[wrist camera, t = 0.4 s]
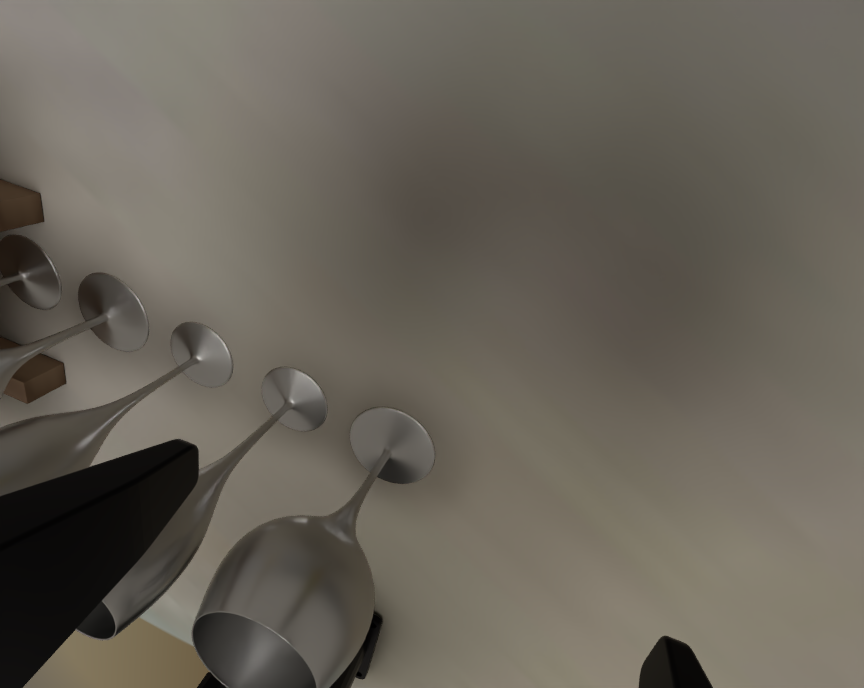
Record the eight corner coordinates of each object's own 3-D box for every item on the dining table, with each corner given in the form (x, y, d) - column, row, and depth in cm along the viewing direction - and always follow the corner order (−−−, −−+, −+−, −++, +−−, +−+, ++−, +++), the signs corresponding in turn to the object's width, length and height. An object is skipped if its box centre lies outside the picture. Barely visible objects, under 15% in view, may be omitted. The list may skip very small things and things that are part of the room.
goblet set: (2, 299, 32) (-342, 418, 20) (-9, 209, 29) (-416, 288, 18) (426, 507, 28) (296, 790, 17) (461, 428, 26) (333, 703, 14)
